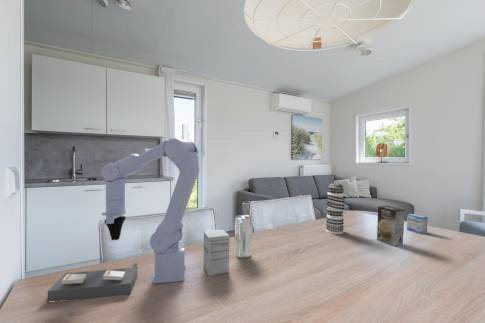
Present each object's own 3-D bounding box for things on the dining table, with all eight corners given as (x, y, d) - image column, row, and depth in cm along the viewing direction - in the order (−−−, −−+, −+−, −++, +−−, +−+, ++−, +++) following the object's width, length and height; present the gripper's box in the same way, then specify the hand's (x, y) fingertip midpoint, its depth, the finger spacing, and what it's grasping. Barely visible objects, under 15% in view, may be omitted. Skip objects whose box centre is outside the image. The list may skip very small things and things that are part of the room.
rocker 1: (87, 277, 70) (87, 273, 70) (82, 283, 67) (82, 279, 67) (67, 278, 69) (67, 274, 69) (61, 283, 66) (61, 280, 66)
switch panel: (141, 264, 86) (141, 255, 86) (130, 293, 68) (130, 281, 68) (77, 269, 82) (77, 259, 82) (47, 302, 64) (47, 289, 64)
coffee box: (375, 239, 117) (377, 206, 116) (385, 238, 119) (386, 205, 119) (394, 246, 108) (395, 210, 108) (404, 244, 111) (405, 209, 110)
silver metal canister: (241, 250, 101) (242, 213, 101) (255, 254, 97) (256, 216, 97) (230, 255, 96) (231, 217, 96) (244, 260, 92) (245, 220, 91)
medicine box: (406, 230, 133) (407, 214, 133) (411, 229, 135) (412, 213, 135) (422, 234, 126) (422, 217, 126) (427, 233, 128) (427, 216, 128)
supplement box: (202, 266, 86) (203, 230, 86) (223, 263, 89) (223, 228, 88) (207, 276, 79) (208, 237, 79) (229, 272, 82) (230, 235, 81)
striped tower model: (321, 230, 131) (322, 183, 130) (334, 228, 134) (335, 182, 134) (334, 235, 122) (335, 185, 122) (348, 233, 126) (349, 184, 126)
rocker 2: (124, 274, 72) (125, 271, 72) (121, 280, 69) (122, 276, 69) (106, 273, 71) (106, 269, 71) (102, 279, 68) (103, 275, 68)
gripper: (108, 195, 88) (108, 233, 89) (94, 203, 74) (94, 248, 75) (129, 195, 90) (129, 232, 90) (120, 202, 76) (120, 246, 76)
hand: (115, 239), depth 83 cm, fingers closed
